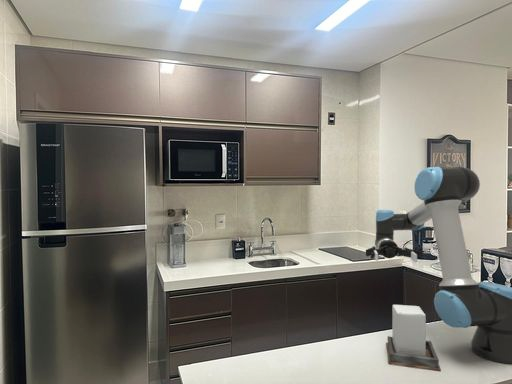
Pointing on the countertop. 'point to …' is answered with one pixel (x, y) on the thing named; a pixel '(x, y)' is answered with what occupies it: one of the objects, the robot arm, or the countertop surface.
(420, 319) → the supplement box
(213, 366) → the countertop surface
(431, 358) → the gray rimmed tray
